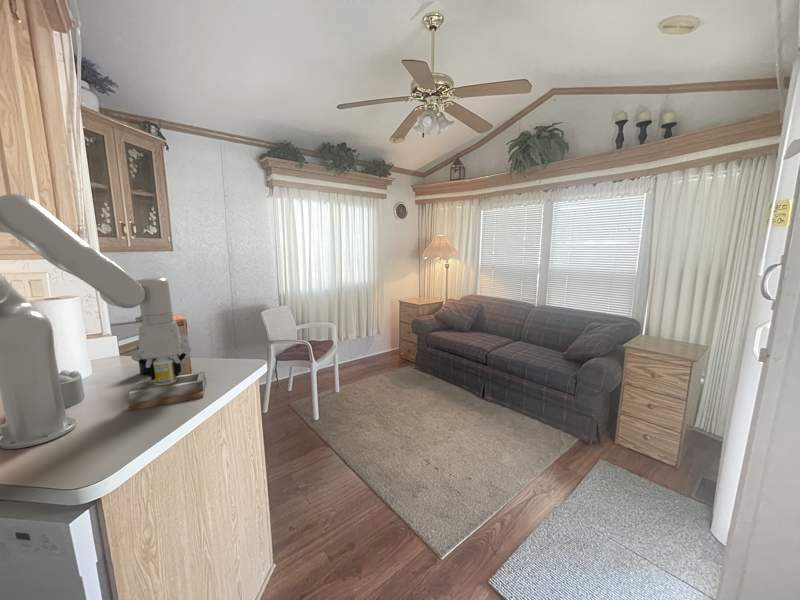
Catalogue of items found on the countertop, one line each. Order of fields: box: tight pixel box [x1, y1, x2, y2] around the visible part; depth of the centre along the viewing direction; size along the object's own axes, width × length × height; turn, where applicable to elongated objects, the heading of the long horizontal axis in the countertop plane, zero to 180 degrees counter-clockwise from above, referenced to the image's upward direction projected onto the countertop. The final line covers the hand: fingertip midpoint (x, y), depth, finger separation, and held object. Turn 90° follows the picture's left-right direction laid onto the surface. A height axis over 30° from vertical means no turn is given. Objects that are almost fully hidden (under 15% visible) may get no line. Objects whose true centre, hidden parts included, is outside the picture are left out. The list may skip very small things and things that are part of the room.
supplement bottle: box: [153, 356, 177, 385], centre depth 100 cm, size 5×5×10 cm
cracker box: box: [170, 314, 193, 376], centre depth 120 cm, size 14×6×21 cm, turn 40°
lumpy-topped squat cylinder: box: [58, 369, 85, 408], centre depth 98 cm, size 10×13×9 cm
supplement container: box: [135, 344, 156, 376], centre depth 121 cm, size 7×7×10 cm
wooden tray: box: [127, 371, 207, 412], centre depth 101 cm, size 18×14×4 cm
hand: (165, 376), depth 101 cm, fingers closed on supplement bottle, 5 cm apart
